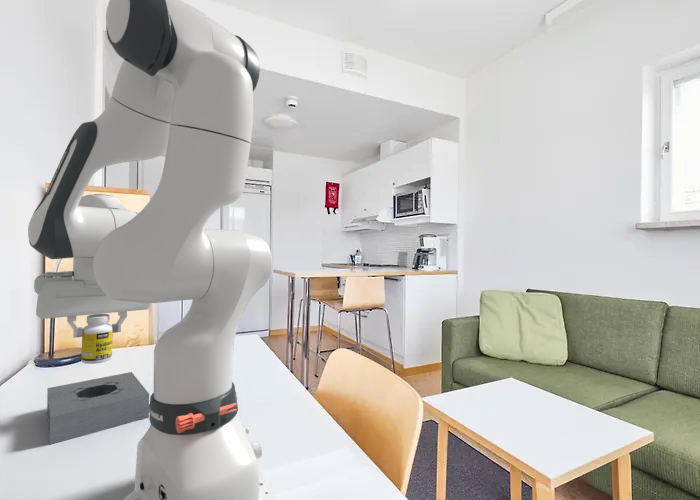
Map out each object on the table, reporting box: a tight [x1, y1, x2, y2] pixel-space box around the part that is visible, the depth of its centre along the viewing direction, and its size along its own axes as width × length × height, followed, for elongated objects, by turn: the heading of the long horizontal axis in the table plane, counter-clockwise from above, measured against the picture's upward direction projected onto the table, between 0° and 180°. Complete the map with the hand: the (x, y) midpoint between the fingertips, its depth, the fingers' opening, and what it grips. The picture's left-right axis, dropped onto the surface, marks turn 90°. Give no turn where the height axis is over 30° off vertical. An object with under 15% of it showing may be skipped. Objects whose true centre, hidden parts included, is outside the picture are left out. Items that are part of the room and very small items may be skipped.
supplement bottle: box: [80, 313, 114, 365], centre depth 76 cm, size 5×5×10 cm
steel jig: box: [46, 371, 150, 445], centre depth 76 cm, size 18×16×5 cm
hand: (97, 334), depth 76 cm, fingers closed on supplement bottle, 5 cm apart
